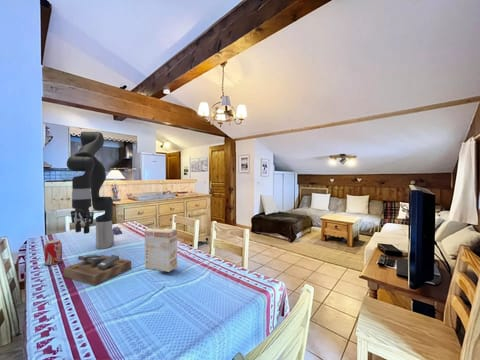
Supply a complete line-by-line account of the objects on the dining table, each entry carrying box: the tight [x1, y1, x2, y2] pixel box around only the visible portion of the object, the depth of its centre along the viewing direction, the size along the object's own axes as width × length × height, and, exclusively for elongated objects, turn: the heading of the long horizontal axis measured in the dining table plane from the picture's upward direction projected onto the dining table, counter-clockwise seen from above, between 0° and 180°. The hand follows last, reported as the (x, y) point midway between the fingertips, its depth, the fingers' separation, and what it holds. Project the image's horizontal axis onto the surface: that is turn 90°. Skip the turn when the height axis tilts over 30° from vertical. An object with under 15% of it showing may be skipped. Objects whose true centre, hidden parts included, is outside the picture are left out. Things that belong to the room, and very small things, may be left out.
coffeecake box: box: [144, 226, 178, 273], centre depth 107 cm, size 15×7×20 cm, turn 71°
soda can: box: [43, 239, 63, 266], centre depth 113 cm, size 7×7×12 cm
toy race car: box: [112, 226, 123, 236], centre depth 163 cm, size 10×15×6 cm, turn 141°
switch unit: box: [63, 254, 132, 286], centre depth 102 cm, size 18×22×5 cm
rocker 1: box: [77, 254, 100, 262], centre depth 104 cm, size 8×4×2 cm, turn 157°
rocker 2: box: [87, 257, 108, 263], centre depth 101 cm, size 8×4×2 cm, turn 157°
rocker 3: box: [97, 254, 121, 270], centre depth 99 cm, size 8×4×2 cm, turn 157°
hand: (82, 232), depth 101 cm, fingers open, 5 cm apart
